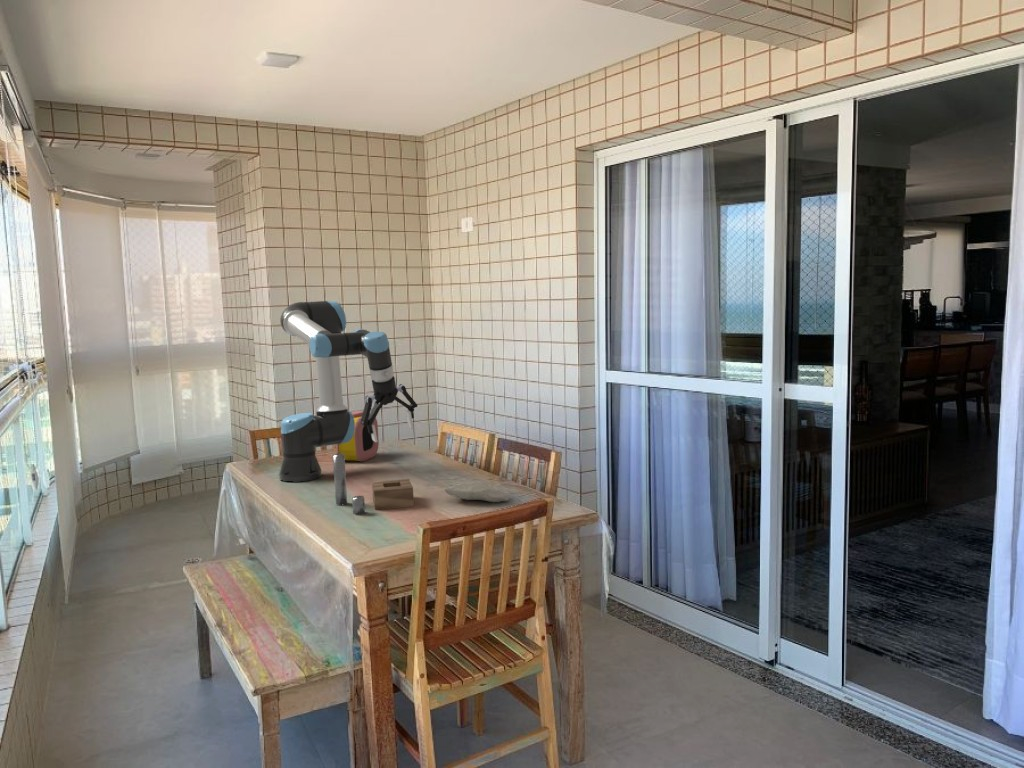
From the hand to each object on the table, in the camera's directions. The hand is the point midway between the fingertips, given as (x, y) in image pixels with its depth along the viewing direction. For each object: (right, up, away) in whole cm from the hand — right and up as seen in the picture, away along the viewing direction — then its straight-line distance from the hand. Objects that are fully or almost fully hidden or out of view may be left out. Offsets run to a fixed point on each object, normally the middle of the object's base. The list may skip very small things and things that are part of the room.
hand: (393, 434), depth 264 cm
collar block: (+3, -21, -17) cm, 27 cm away
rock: (+28, -20, -15) cm, 38 cm away
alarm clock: (-22, -14, +52) cm, 58 cm away
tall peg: (-14, -21, -16) cm, 30 cm away
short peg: (-6, -23, -27) cm, 36 cm away
